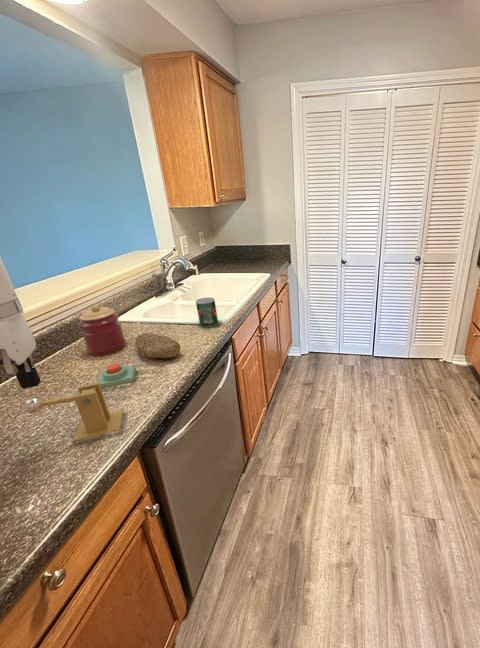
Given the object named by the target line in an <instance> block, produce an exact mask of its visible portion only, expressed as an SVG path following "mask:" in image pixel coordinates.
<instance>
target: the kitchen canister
mask: <svg viewBox="0 0 480 648" xmlns="http://www.w3.org/2000/svg"><path fill="white" fill-rule="evenodd" d="M119 317H120V316H119V315H118V314H117V313H116V312H115V309H113V308H110V307H107V306H99V305H98V304H93V305H92V306H91V307H90V309H88V310H87V309H86V310H85V311H84V312H83V313H82V314H81V315H80V316H79V320H80V321H78V326H79V327H80V328H81V334H82V336H83V339H84V341H85V345H86V350H87V351H88V353H89V354H90V355H92V356H104V355H109V354H113V353H115V352H118V351H119V350H121V349H123V348H124V347H125V346H126V337H125V335H124V332H123V329H122V323H121V322H120V321H119Z"/></svg>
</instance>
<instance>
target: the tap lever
mask: <svg viewBox="0 0 480 648" xmlns="http://www.w3.org/2000/svg"><path fill="white" fill-rule="evenodd" d="M92 391H96V389H95V388H93V389H87V390H82V392H81V394H83V393H87V392H92ZM75 395H76V394H74V395H69V396H64V397H58V398H57V397H56V398H51V399H45V400H44V399H42V398H40V397H39V396H38V397H37V396H35V397H31V398H29V399H27V400H26V402H24V405H23V408H24V411H26V412H27V413H28V414H37V413H39V412H41V411H42V410H43V409H44V408H45V407H50V406H54V405H56V406H57V405H61V404H66V403H72V402H75V400H74V396H75Z"/></svg>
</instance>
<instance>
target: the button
mask: <svg viewBox="0 0 480 648" xmlns="http://www.w3.org/2000/svg"><path fill="white" fill-rule="evenodd" d="M120 365H121V364H120V363H118V362H117V363H116V362H115V363H111V364H109V365H108V366H107V367H106V369H107V371H108V373H109V374H113V373H116V372H119V371H120V370H121V367H120Z"/></svg>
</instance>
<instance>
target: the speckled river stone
mask: <svg viewBox="0 0 480 648" xmlns="http://www.w3.org/2000/svg"><path fill="white" fill-rule="evenodd" d="M134 344H135V347H136V349H137V351H138V353H139V354H140V355H142V356H143V357H145V358H146V357H147V358H151V359H169V358H175V357H176V356H178V355H179V354H180V353H181V348H182V347H181V345H180V343H179V342H178V341H177V340H176V339H173V338H171V337H169V336H166V335H161V334H159V333H156V332H143V333H140V334H139V335H137V337H136V338H135V341H134Z"/></svg>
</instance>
